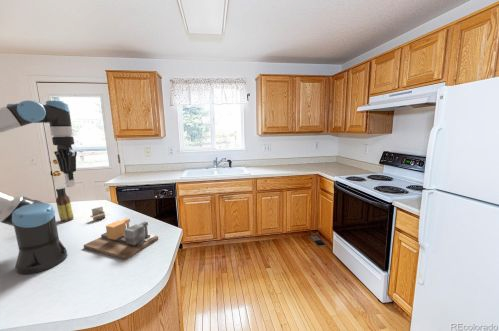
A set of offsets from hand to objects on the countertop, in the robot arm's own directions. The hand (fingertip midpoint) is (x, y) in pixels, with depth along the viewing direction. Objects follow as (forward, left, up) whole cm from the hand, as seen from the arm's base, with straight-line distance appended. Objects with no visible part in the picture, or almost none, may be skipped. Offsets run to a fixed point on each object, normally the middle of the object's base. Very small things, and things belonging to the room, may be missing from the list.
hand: (70, 186), depth 104 cm
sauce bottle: (+12, +32, -27) cm, 43 cm away
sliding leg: (+6, -22, -24) cm, 33 cm away
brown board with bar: (+4, -25, -26) cm, 37 cm away
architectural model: (+20, +15, -27) cm, 37 cm away
